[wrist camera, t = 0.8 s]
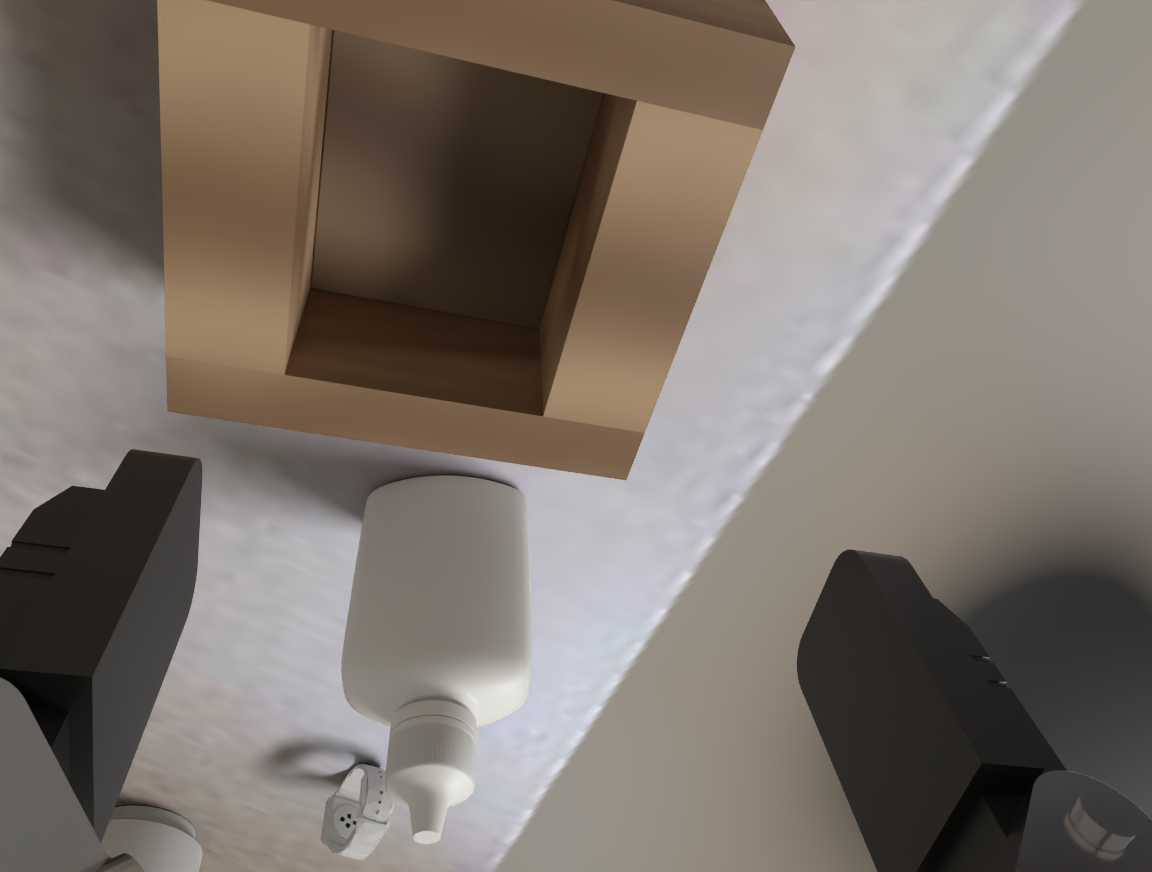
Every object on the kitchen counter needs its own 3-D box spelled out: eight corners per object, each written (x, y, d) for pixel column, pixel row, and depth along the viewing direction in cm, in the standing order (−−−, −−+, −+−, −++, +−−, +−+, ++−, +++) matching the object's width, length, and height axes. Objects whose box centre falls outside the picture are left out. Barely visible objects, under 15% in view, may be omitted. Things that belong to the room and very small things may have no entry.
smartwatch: (366, 745, 43) (354, 831, 40) (407, 759, 44) (399, 844, 41) (327, 780, 45) (313, 864, 42) (368, 793, 46) (357, 876, 43)
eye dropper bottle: (487, 569, 36) (480, 893, 27) (348, 517, 34) (290, 850, 25) (549, 497, 34) (564, 825, 25) (404, 436, 32) (362, 770, 22)
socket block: (220, -168, 20) (154, -117, 17) (747, -26, 23) (795, 46, 19) (214, 302, 28) (167, 411, 24) (611, 371, 30) (626, 480, 26)
